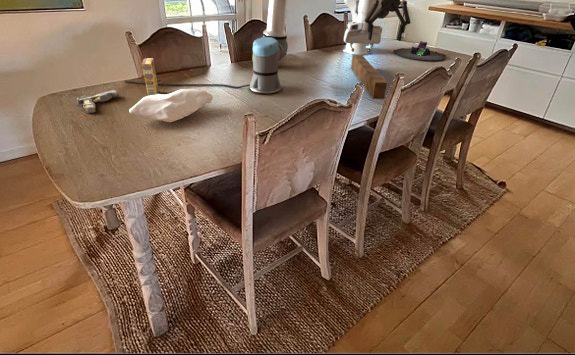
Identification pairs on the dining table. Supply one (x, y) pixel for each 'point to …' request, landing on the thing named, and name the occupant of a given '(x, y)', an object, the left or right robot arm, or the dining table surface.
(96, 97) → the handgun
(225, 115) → the dining table surface
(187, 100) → the crumpled cloth
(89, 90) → the dining table surface
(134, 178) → the dining table surface
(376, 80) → the bar
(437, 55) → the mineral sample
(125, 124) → the dining table surface
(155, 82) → the candy box
